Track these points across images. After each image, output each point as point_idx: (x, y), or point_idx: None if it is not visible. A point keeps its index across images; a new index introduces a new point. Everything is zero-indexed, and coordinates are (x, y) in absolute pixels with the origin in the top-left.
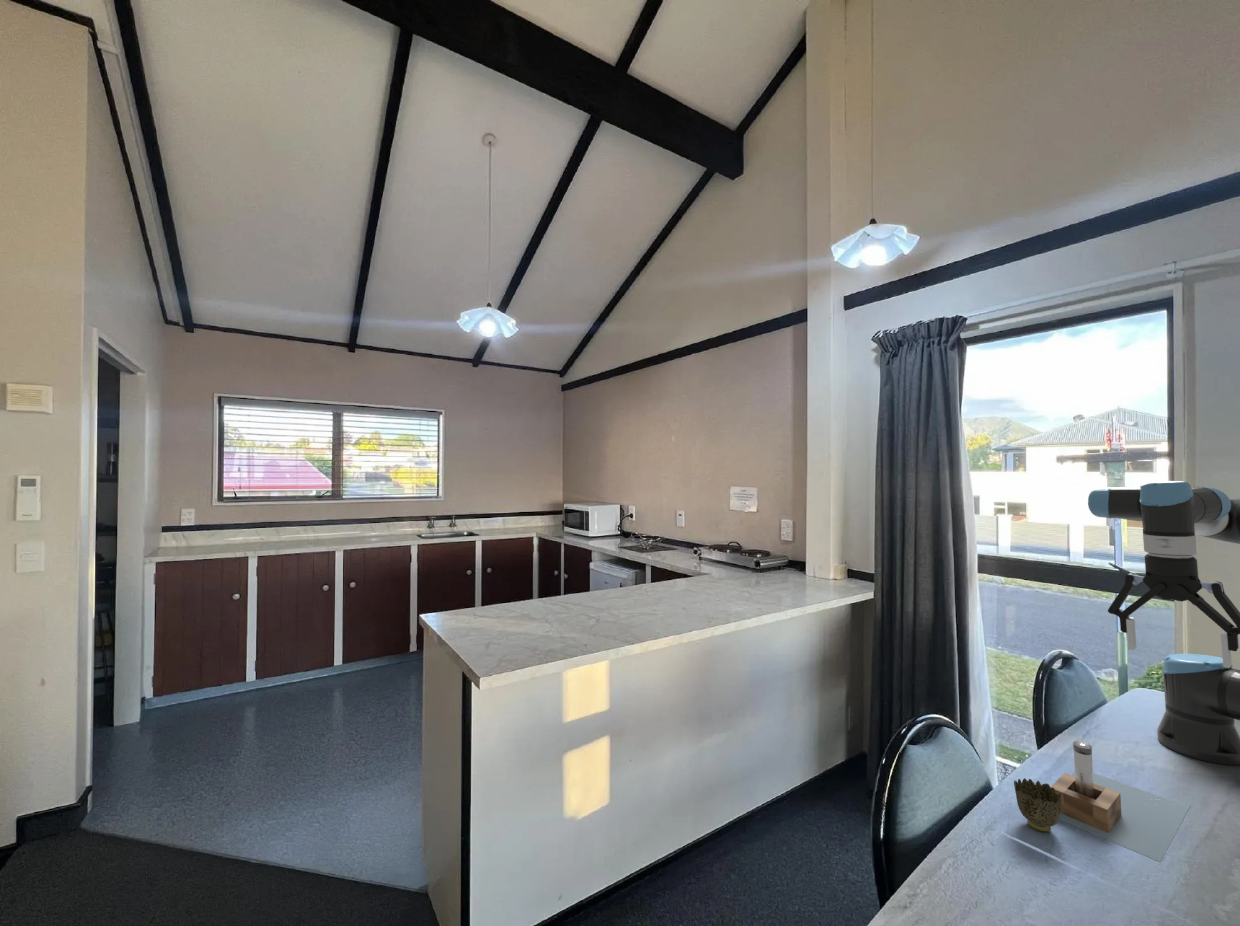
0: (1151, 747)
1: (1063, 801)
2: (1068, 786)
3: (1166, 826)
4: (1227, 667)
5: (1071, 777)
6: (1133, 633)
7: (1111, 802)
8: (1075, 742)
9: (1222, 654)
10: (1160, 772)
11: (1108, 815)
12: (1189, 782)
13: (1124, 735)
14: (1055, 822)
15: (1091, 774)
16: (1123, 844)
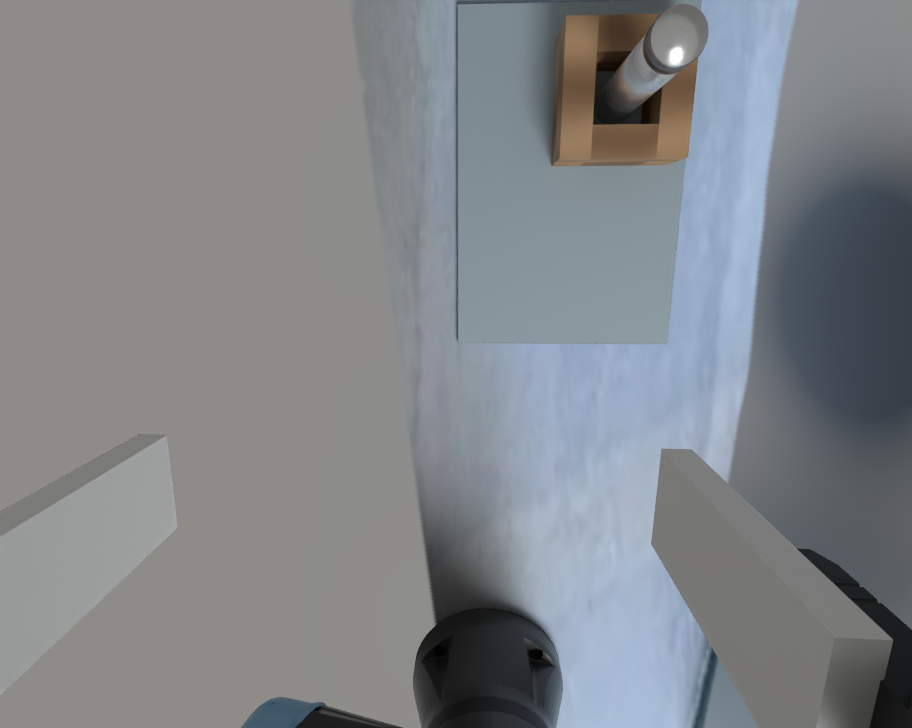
0: (561, 602)
1: None
2: None
3: (475, 197)
4: (144, 435)
5: (668, 142)
6: (714, 575)
7: (566, 73)
8: (701, 32)
9: (99, 476)
10: (527, 480)
11: (562, 30)
12: (478, 476)
13: (615, 626)
14: None
15: (625, 63)
16: (524, 13)
